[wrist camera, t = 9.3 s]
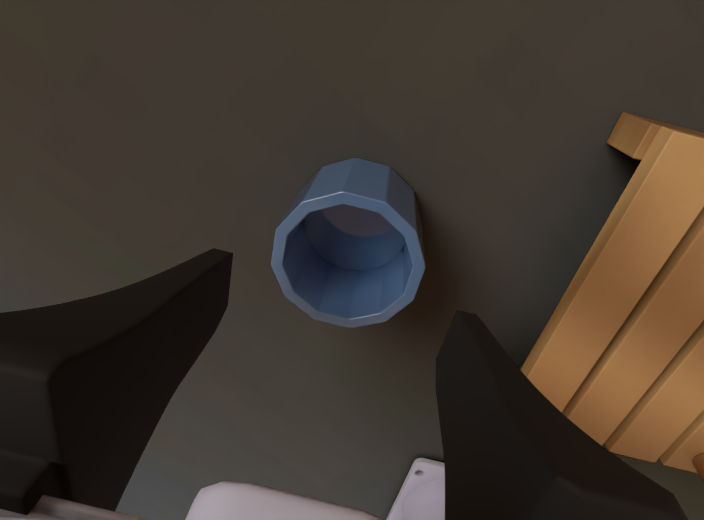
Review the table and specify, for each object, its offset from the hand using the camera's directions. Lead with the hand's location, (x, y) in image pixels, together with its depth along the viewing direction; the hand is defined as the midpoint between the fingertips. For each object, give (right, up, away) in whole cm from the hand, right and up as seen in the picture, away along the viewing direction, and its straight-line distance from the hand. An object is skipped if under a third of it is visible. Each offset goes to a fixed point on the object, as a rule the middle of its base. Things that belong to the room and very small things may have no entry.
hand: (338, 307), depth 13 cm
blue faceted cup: (+1, +3, +6) cm, 7 cm away
